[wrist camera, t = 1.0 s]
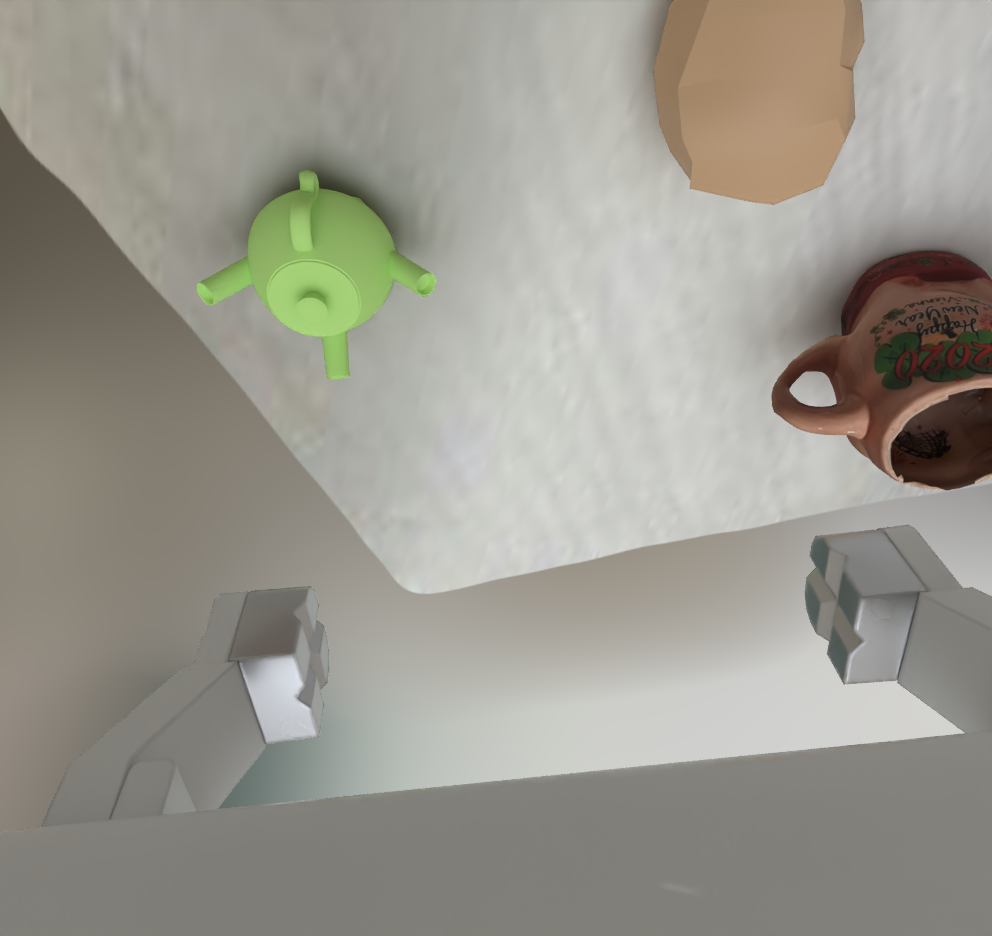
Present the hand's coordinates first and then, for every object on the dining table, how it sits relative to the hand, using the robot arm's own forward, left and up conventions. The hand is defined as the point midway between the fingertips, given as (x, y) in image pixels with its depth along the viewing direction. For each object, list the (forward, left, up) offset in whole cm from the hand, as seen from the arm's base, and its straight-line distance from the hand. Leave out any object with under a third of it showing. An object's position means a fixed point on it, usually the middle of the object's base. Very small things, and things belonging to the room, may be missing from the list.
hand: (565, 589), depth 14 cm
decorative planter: (+2, +38, -43) cm, 58 cm away
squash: (-5, +13, -43) cm, 45 cm away
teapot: (+23, +4, -43) cm, 49 cm away
